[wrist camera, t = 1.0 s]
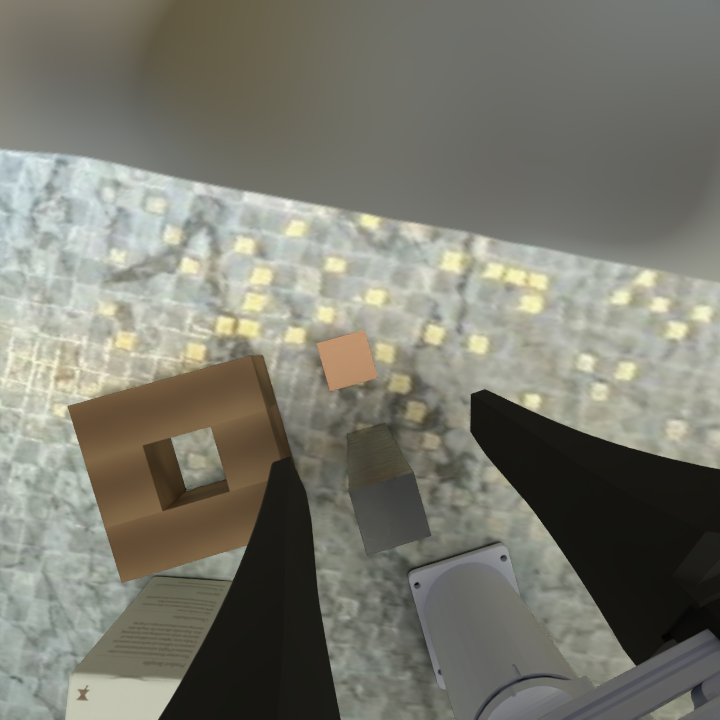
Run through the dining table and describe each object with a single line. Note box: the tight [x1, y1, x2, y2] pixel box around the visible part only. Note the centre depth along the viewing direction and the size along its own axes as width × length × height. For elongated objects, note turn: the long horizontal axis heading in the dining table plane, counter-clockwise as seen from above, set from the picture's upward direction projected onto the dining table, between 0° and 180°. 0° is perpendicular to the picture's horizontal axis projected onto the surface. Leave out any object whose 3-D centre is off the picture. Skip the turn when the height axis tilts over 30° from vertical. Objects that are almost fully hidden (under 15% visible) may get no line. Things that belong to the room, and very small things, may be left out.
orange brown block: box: [316, 330, 378, 391], centre depth 21 cm, size 3×3×5 cm
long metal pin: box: [347, 423, 431, 555], centre depth 19 cm, size 3×3×10 cm
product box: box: [65, 577, 232, 720], centre depth 20 cm, size 6×6×7 cm
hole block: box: [68, 356, 295, 583], centre depth 22 cm, size 12×12×3 cm
